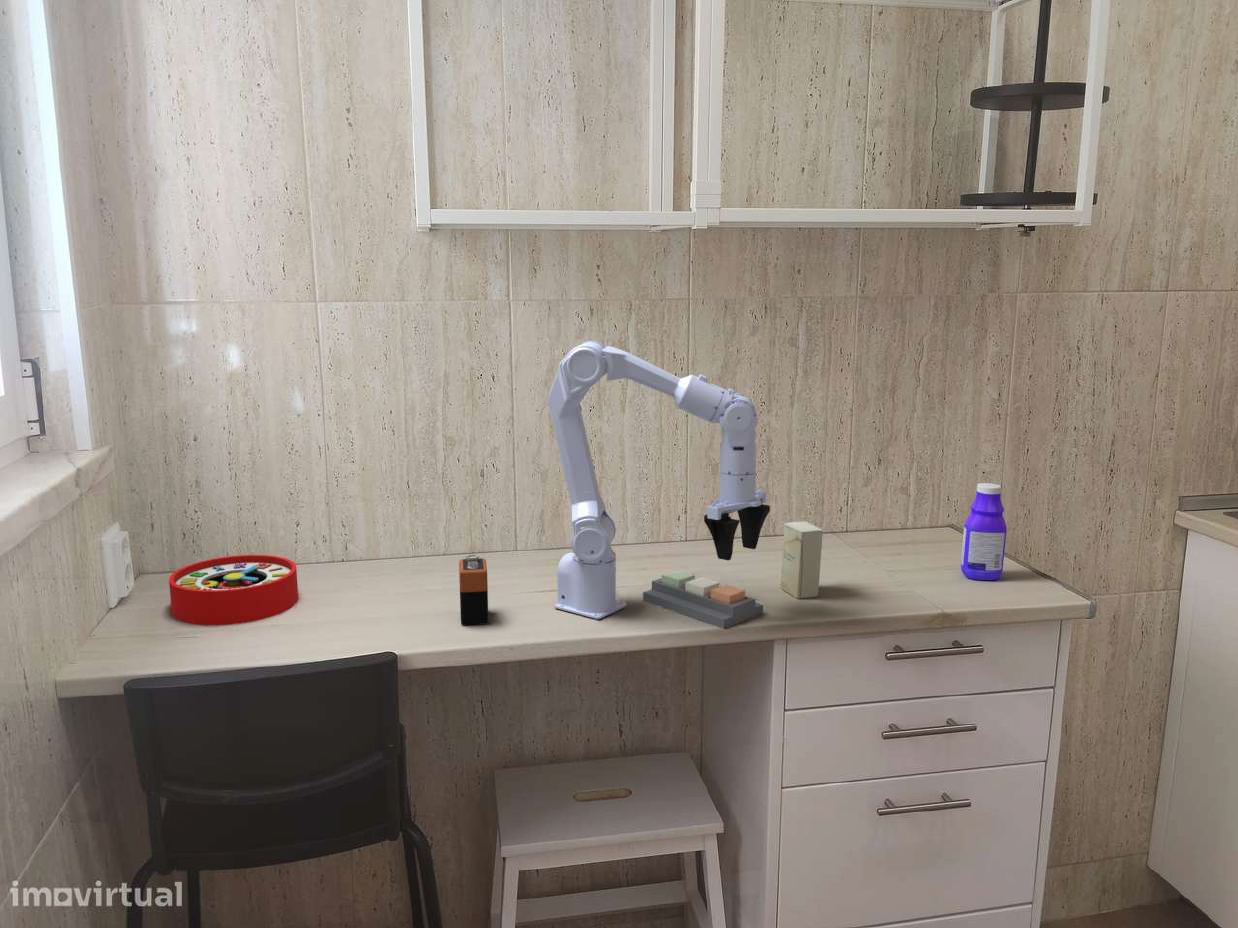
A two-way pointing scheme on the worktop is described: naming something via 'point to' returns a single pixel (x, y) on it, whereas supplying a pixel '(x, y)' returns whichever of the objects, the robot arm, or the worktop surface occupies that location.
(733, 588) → the terracotta button
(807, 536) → the skincare box
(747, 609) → the button panel
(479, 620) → the battery
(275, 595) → the toy clock
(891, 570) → the worktop surface
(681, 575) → the green button
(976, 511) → the bottle
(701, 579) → the cream button
